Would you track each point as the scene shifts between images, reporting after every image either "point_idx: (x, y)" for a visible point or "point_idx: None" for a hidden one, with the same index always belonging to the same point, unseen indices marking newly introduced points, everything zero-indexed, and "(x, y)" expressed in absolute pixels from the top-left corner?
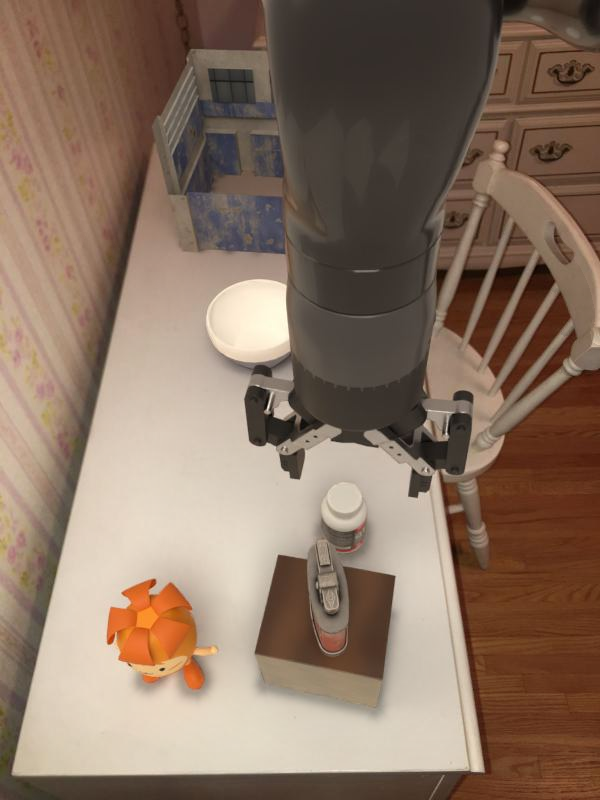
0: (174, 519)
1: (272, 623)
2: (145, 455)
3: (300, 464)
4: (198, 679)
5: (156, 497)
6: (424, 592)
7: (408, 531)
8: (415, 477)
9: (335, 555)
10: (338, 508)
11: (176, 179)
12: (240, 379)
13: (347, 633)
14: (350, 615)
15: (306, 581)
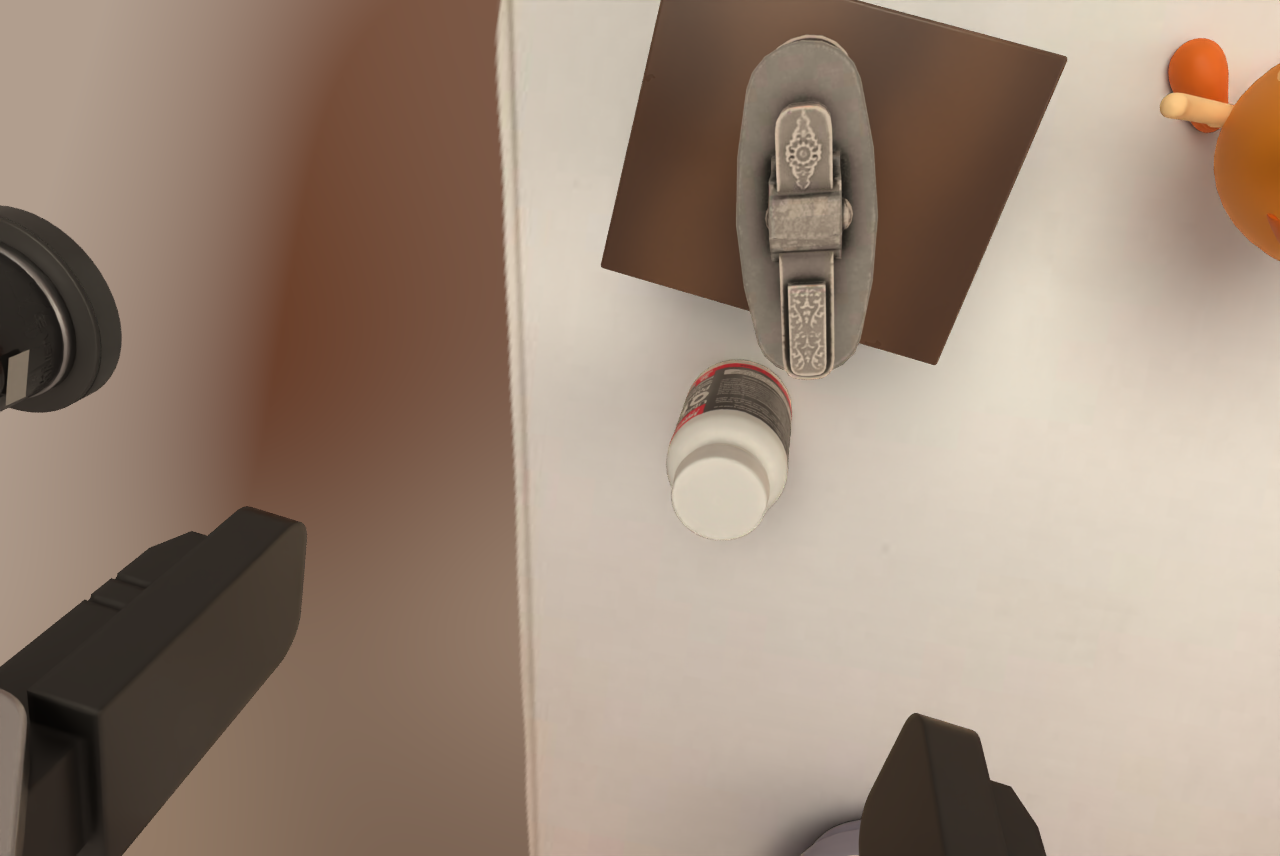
0: (1174, 498)
1: (990, 152)
2: (1225, 670)
3: (908, 826)
4: (1191, 61)
5: (1215, 561)
6: (564, 247)
7: (585, 394)
8: (107, 669)
9: (763, 324)
10: (739, 473)
11: None
12: None
13: None
14: None
15: None
